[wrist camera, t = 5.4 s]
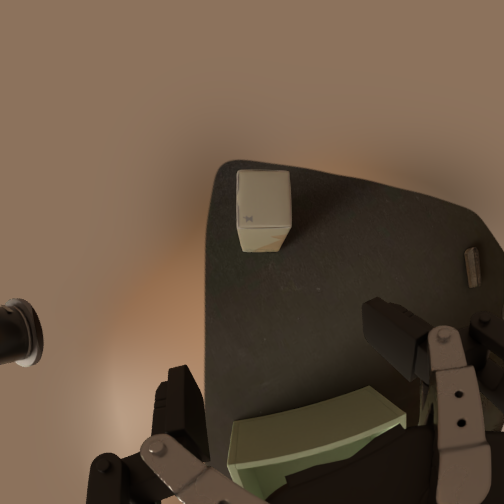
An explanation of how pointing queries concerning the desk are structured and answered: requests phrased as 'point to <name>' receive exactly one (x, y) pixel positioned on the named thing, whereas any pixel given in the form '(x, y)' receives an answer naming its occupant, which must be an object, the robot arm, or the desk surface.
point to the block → (473, 267)
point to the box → (263, 209)
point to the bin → (306, 438)
